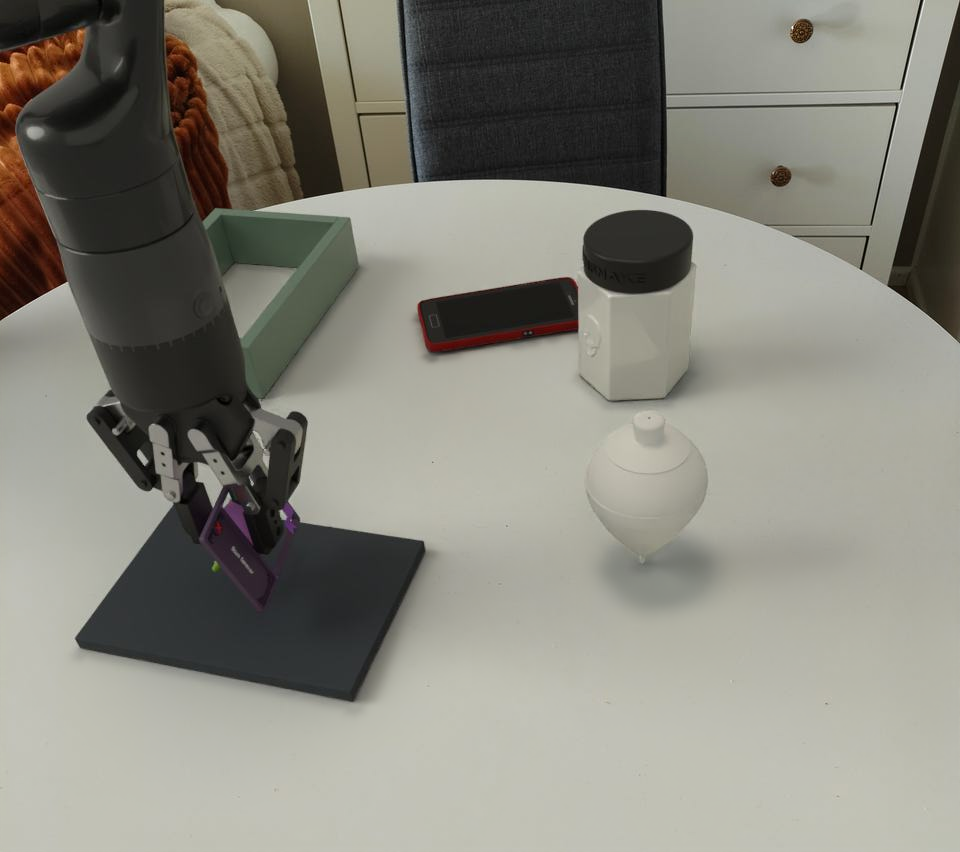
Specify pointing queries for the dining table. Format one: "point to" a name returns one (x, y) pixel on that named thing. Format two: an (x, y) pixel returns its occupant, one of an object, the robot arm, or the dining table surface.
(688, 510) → the spinning top
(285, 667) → the mat
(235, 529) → the game card
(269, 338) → the green rectangular tray frame
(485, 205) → the dining table surface
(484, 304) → the cell phone
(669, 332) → the jar
